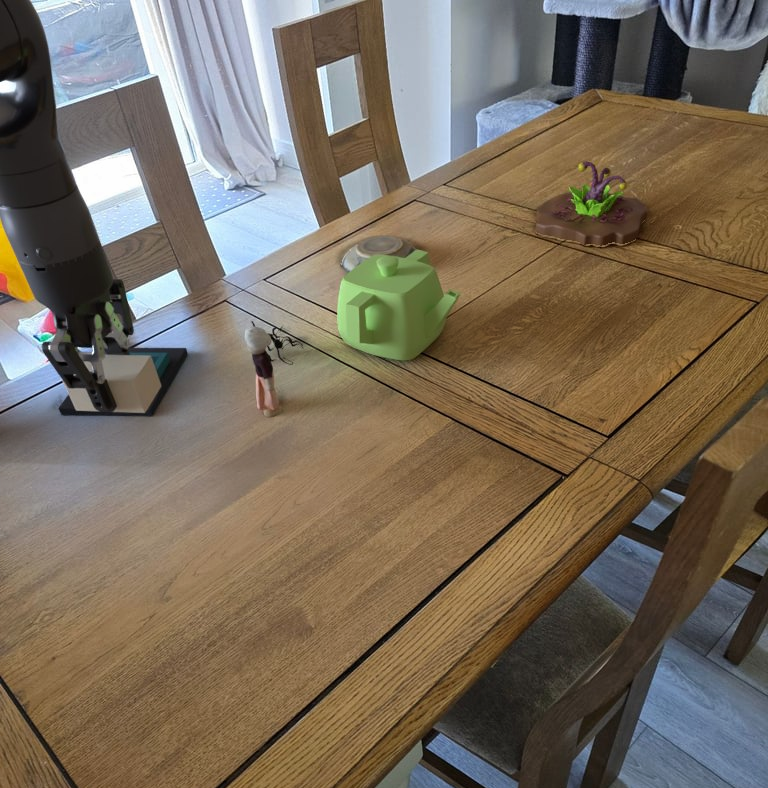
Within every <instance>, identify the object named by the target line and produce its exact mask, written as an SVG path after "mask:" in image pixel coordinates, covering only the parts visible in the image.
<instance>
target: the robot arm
mask: <svg viewBox="0 0 768 788" xmlns="http://www.w3.org/2000/svg"><path fill="white" fill-rule="evenodd" d="M59 132H60V131H59V122H58V111H57V103H56V93H55V85H54V77H53V68H52V60H51V53H50V47H49V43H48V39H47V35H46V31H45V28H44V25H43V23H42V20H41V18H40V16H39V13H38V12H37V10H36V8H35V6H34V4H33V3H32V1H31V0H0V223H1V225H2V228H3V229H2V230H3V231H4V233H5V236H6V237H7V240H8V242H9V244H10V247H11V249H12V251H13V254H14V255H15V258H16V260H17V262H18V264H19V266H20V269H21V271H22V273H23V276H24V278H25V280H26V282H27V284H28V286H29V289H30V291H31V293H32V295H33V297H34V299H35V300H36V301H37V302H38V303H40V304H41V305H43V306H44V307H46V308H47V309H48V310H49V311H50V312H51V315H52V319H53V326H54V329H55V332H56V333H55V335H54V336H53V339H52V340H51V341H43V342H42V344H41V351H42V353H43V355H44V356H45V357H46V359H47V360H48V361H49V363H50V364H51V366H52V367H53V369H54V371H56V373H57V374H58V375H59V378H61V380H63V381H64V382H65V384H66V385H67V387H68V388H71V389H75V388H86V391H87V393H88V395H89V397H90V399H91V402H92V404H93V407H94V408H95V409H96V410H98V411H102V412H113V411H114V410H115V409H116V407H117V404H116V402H115V400H114V397H113V395H112V392H111V390H110V387H109V385H108V383H107V379H105V376H104V370H103V365H102V360H103V359H104V358H105V351H104V348H106V349H108V351H107V352H106V354H107V355H130V354H129V351H128V348H130V339H129V336H133V335H134V332H135V331H134V330H135V328H134V324H133V319H132V315H131V310H130V306H129V301H128V297H127V292H126V288H125V287H126V286H125V284H124V281H123V279H121V278H119V279H118V278H114V275H113V273H112V270H111V267H110V264H109V262H108V259H107V255H106V254H105V250H104V248H103V244H102V242H101V239H100V236H99V234H98V231H97V229H96V228H97V227H96V226H95V223H94V219H93V217H92V214H91V211H90V209H89V207H88V205H87V203H86V201H85V199H84V197H83V195H82V193H81V191H80V188H79V186H78V184H77V181H76V177H75V175H74V173H73V171H72V167H71V164H70V162H69V159H68V156H67V154H66V151H65V148H64V146H63V143H62V141H61V137H60V133H59ZM117 315H120V316H121V320H120V319H119V317H118V316H117ZM121 321H122V322H121ZM80 349H92V351H82V350H80ZM84 361H88V362H90V363H91V364H92V369H93V372H90V371H89V370H88V368H87V367H86V365H85V363H84ZM74 374H76V375H75V376H74ZM63 381H62V382H63Z"/></svg>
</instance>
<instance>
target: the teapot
mask: <svg viewBox="0 0 768 788" xmlns="http://www.w3.org/2000/svg"><path fill="white" fill-rule="evenodd" d="M429 253H430V252H428V251H425V250H421V249H416V250H415V251H414V252H413V253H411V254H410V255H409V256H407V257H406V258H401V257H395V256H389V255H373V256H371V257H370V258H368V259H366V260H365V261H363V262H362V263H361V264H359V265H358V266H356V267H355V268H354V269H352V270H351V271H350V272H349V273H348V272H347V273H346V274H345V275H344V276H343V277H342V278H341V280H340V281H341V282H340V286H339V292H338V298H337V309H336V311H337V313H336V314H337V315H336V318H337V319H336V320H337V329H338V333H339V335H340V337H341V338H342V340H343V341H344V343H345V344H347V345H348V346H349V347H352V348H353V349H357V350H358V351H361V352H363V353H366V354H369V355H373V356H376V357H380V358H385V359H390V360H397V361H411V360H413V359H415V358H416V357H418V356H419V355H420V354H421V353H423V352H424V351H425V350H426V349H427V348H429V346H430V345H431V344H432V343H433V342H434V341H435V340H436V339H437V338H438V337H439V336H440V335H441V334H442V332H443V330H444V327H445V325H446V322H447V317H448V316H449V314H450V313H451V311H452V309H453V307H454V306H455V304H456V303H457V301H458V300H459V298H460V297H461V293H460V292H457V291H455V290H452V289H448V290H447V291H446V292H444V291H443V288H442V285H441V281H440V279H439V276H438V275H439V274H438V273H437V270H436V268H435V267H434V266H432V265H431V262H430V254H429Z"/></svg>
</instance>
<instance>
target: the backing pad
mask: <svg viewBox="0 0 768 788" xmlns="http://www.w3.org/2000/svg"><path fill="white" fill-rule="evenodd" d="M104 351H105V355H107V354H106V352H107V351H108V349H106V348H104ZM128 351H129V354H130V355H145V356H151V357H152V360H153V363H154V366H155V369H156V371H157V374H158V377H159V380H160V383H161V388H160V389H159V391H158V393H157V394H156V396H155V398H154V399H153V401H152V403H151V404H150V406H149V407H148V409H147V411H146V412H145V413H131V412H102V411H76V409H75V407H74V405H73V402H72V400H71V398H70V396H69V394H68V393H67V396H66V397H65V398H64V400H63V401H62V402H61V404H60V405H59V406H58V409H57V410H58V411H59V413H60V415H61V416H103V417H104V416H109V417H110V416H112V417H113V416H115V417H154V415H155V413H156V411H157V409H158V408H159V406H160V404H161V402H162V401H163V399H164V397H165V395H166V394H167V392H168V390H169V389H170V387H171V386H172V383H173V382H174V380H175V378H176V376H177V375H178V373H179V371H180V370H181V368H182V366H183V365H184V362H185V361H186V360H187V357H188V356H189V353H188V349H187V347H129V348H128Z"/></svg>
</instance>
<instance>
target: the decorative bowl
mask: <svg viewBox="0 0 768 788" xmlns="http://www.w3.org/2000/svg"><path fill="white" fill-rule="evenodd" d="M415 250H417V248H416V247H415V246H414V245H413V244H411V242H410V243H409V242H408V241H406V240H403V239H402V238H401V239H400V238H399V237H397V236H395V235H387V234H379V235H373V236H369V237H366V238H364V239H362V240H361V241H360V242H358V243H357V244H354V245H353V246H352V247H351V248H350V249H348V250H347V252H346V253H345V254H344V255H343V258H342V260H341V261H342V263H341V262H340V264H341V265H342V266H341V267H343V269H344V270H345V272H347V273H349V272H350V271H351V270H352V269H354V268H355V267H356V266H358V265H359V264H361V263H362V262H363V261H365V260H366V259H368V258H370V257H371V256H373V255H389V256H395V257H401V258H406V257H407V256H409V255H410V254H411V253H413V252H414V251H415Z"/></svg>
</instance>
